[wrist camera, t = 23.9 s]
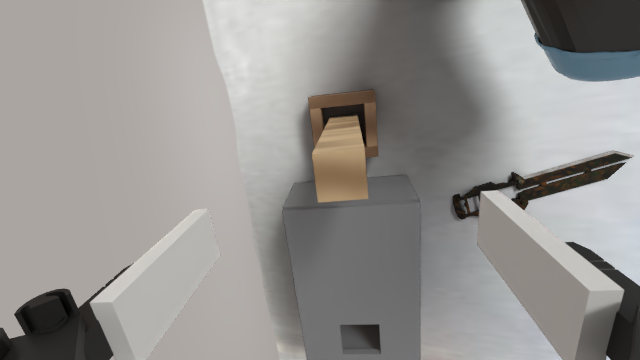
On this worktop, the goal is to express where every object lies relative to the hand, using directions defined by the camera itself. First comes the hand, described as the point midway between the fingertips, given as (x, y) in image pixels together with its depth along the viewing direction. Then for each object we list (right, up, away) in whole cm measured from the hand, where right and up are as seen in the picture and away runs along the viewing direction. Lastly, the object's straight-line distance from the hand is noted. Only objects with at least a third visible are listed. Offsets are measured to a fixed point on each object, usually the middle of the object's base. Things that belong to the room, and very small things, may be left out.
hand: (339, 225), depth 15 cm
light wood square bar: (+3, +10, +31) cm, 33 cm away
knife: (+32, +2, +32) cm, 46 cm away
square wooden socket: (+3, +11, +31) cm, 33 cm away
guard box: (+5, -11, +38) cm, 40 cm away
